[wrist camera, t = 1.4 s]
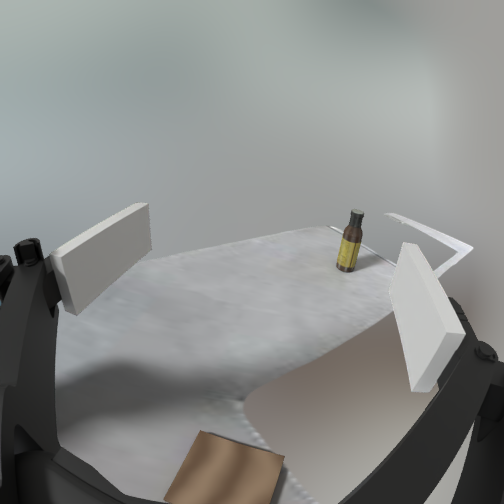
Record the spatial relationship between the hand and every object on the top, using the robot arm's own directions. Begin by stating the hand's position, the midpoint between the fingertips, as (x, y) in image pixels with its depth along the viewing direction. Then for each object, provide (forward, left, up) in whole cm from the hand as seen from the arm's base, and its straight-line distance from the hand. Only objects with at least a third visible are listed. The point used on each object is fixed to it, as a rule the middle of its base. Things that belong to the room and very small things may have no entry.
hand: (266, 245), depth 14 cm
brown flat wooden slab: (-1, 0, -40) cm, 40 cm away
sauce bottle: (+12, +74, -40) cm, 85 cm away
